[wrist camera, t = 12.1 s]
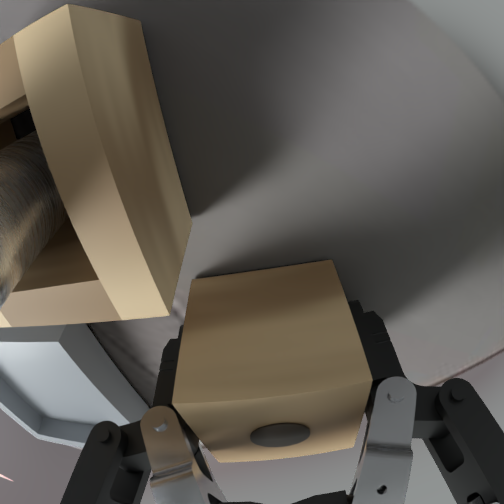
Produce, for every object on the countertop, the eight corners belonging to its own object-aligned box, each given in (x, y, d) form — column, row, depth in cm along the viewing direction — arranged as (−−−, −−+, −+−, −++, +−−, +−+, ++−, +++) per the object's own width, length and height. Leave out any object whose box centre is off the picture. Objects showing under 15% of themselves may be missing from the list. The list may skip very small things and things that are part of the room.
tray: (-51, 317, 13) (-65, 338, 11) (74, 306, 12) (58, 341, 10) (43, 419, 20) (37, 438, 18) (170, 431, 19) (167, 456, 17)
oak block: (-20, 102, 7) (-102, 141, 4) (140, 20, 6) (67, 3, 3) (40, 254, 10) (-10, 327, 7) (192, 223, 10) (169, 315, 7)
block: (191, 279, 11) (171, 406, 7) (332, 259, 11) (373, 383, 7) (222, 362, 14) (219, 464, 10) (331, 347, 14) (353, 449, 10)
